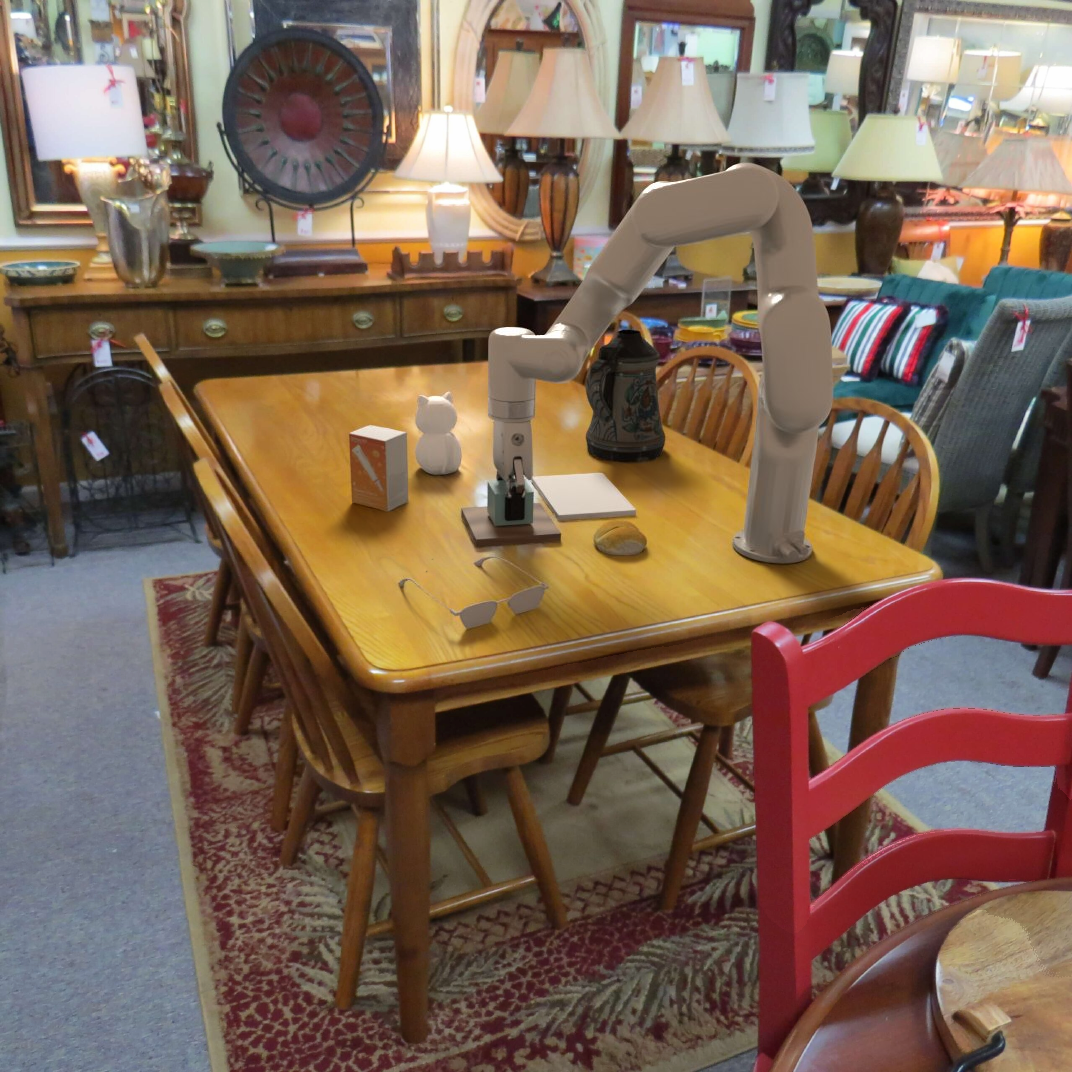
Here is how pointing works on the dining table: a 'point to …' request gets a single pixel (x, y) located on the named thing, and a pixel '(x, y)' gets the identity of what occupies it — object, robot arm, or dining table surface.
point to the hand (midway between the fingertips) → (509, 511)
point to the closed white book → (582, 496)
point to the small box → (379, 467)
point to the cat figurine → (437, 435)
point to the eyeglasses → (487, 609)
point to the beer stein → (625, 401)
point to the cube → (497, 503)
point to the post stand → (509, 529)
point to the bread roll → (619, 538)
